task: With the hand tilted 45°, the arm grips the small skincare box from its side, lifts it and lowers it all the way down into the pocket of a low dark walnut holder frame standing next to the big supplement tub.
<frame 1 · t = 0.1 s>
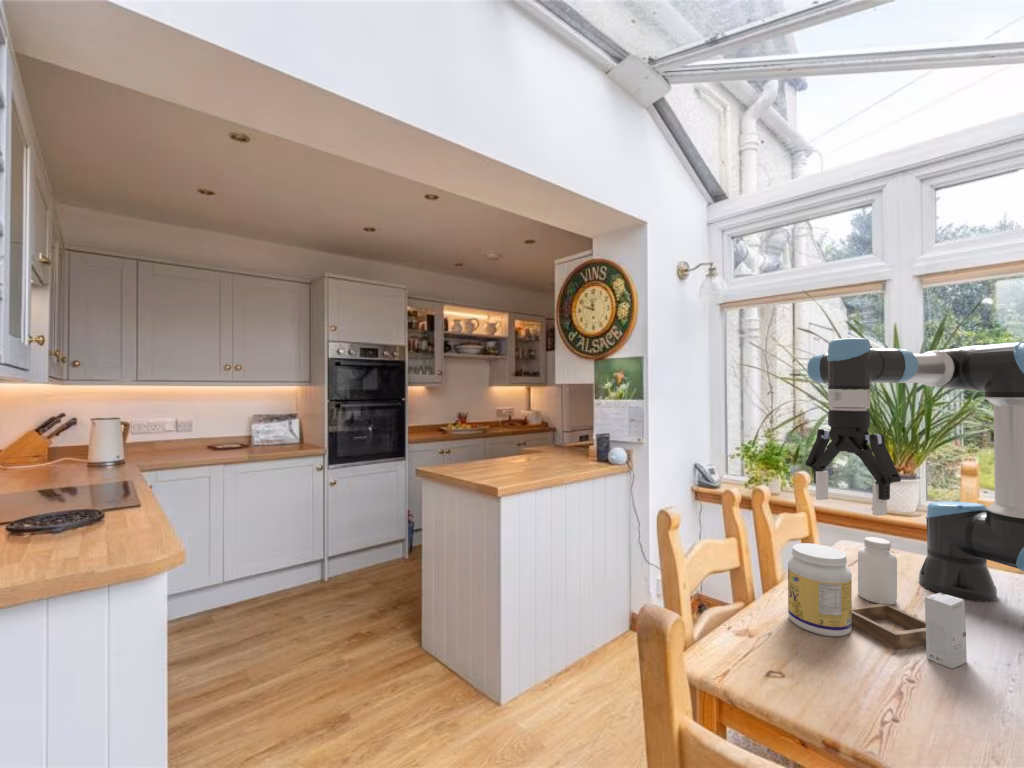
hand: (849, 506, 103), 28 cm above the table, tool pointing down, fingers open, 13 cm apart
holder: (890, 631, 104), on the table
supplement tub: (819, 625, 108), on the table
skincare box: (945, 660, 94), on the table
pill bottle: (877, 599, 121), on the table
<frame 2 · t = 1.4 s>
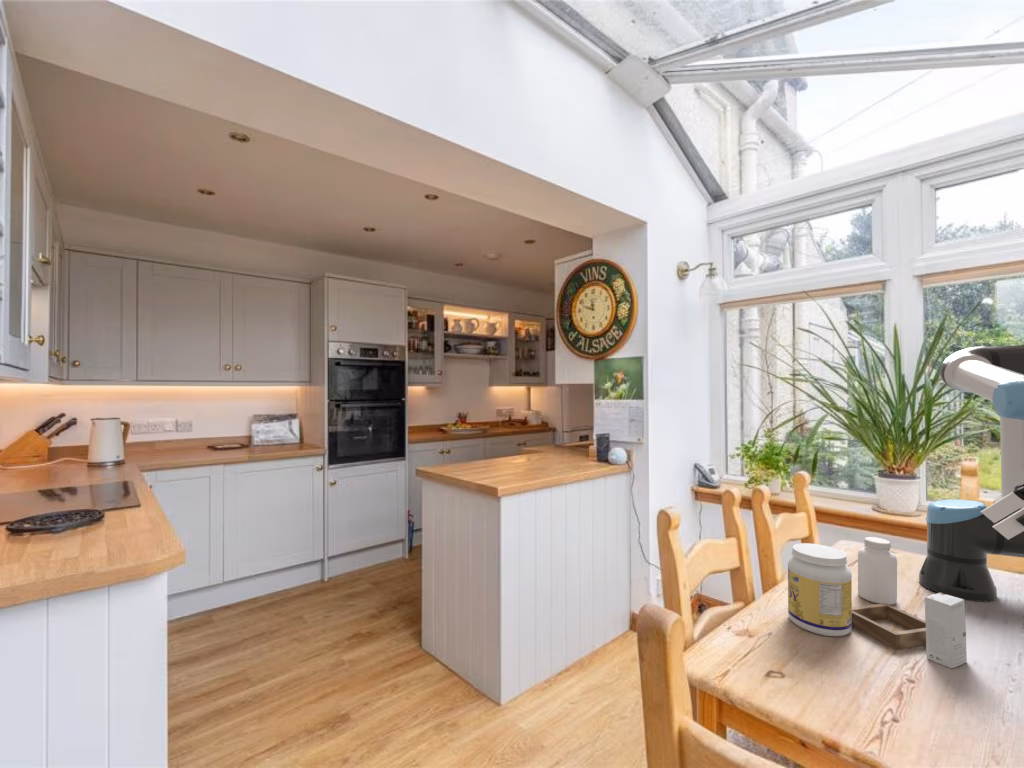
hand: (993, 524, 91), 27 cm above the table, tool tilted 45°, fingers open, 13 cm apart
nothing on the table moved.
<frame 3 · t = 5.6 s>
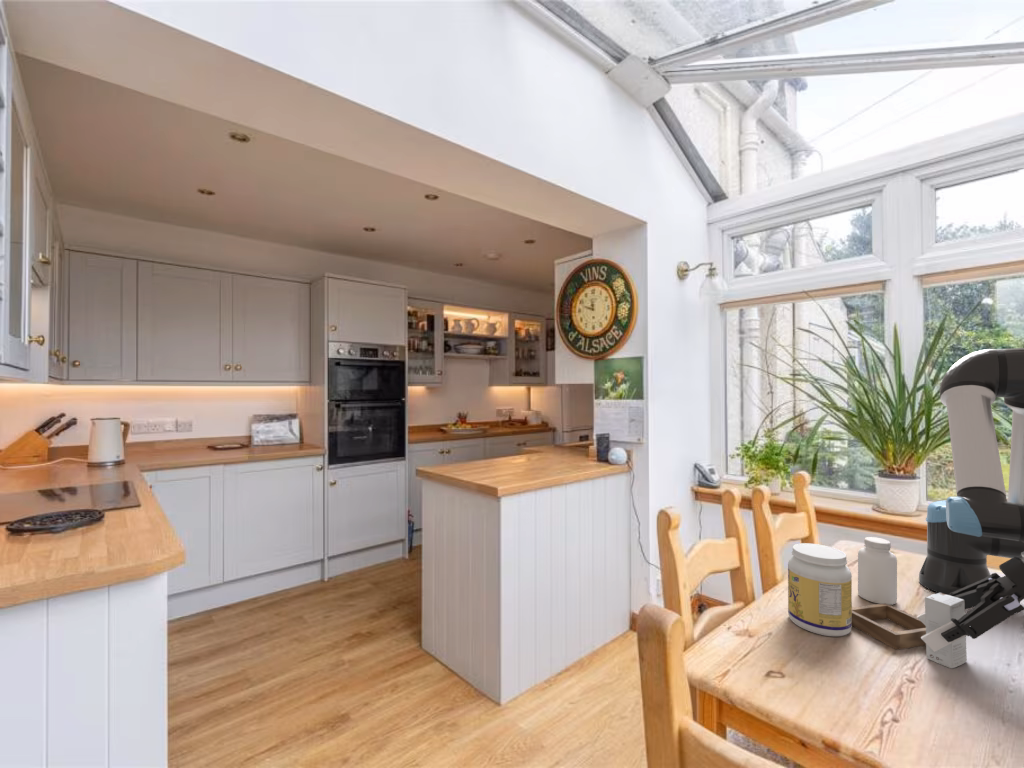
hand: (925, 633, 96), 4 cm above the table, tool tilted 45°, fingers open, 10 cm apart
nothing on the table moved.
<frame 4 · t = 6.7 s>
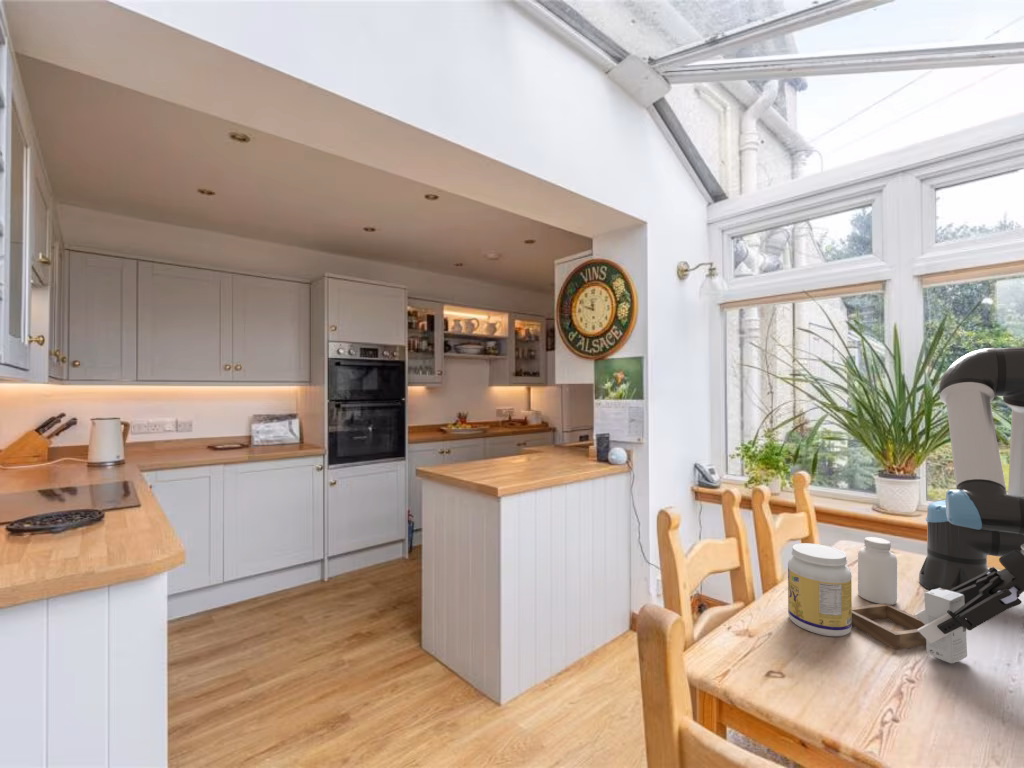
hand: (922, 628, 96), 5 cm above the table, tool tilted 45°, fingers closed on skincare box, 7 cm apart
skincare box: (946, 655, 94), point 1 cm above the table, touching gripper
everything else where it was.
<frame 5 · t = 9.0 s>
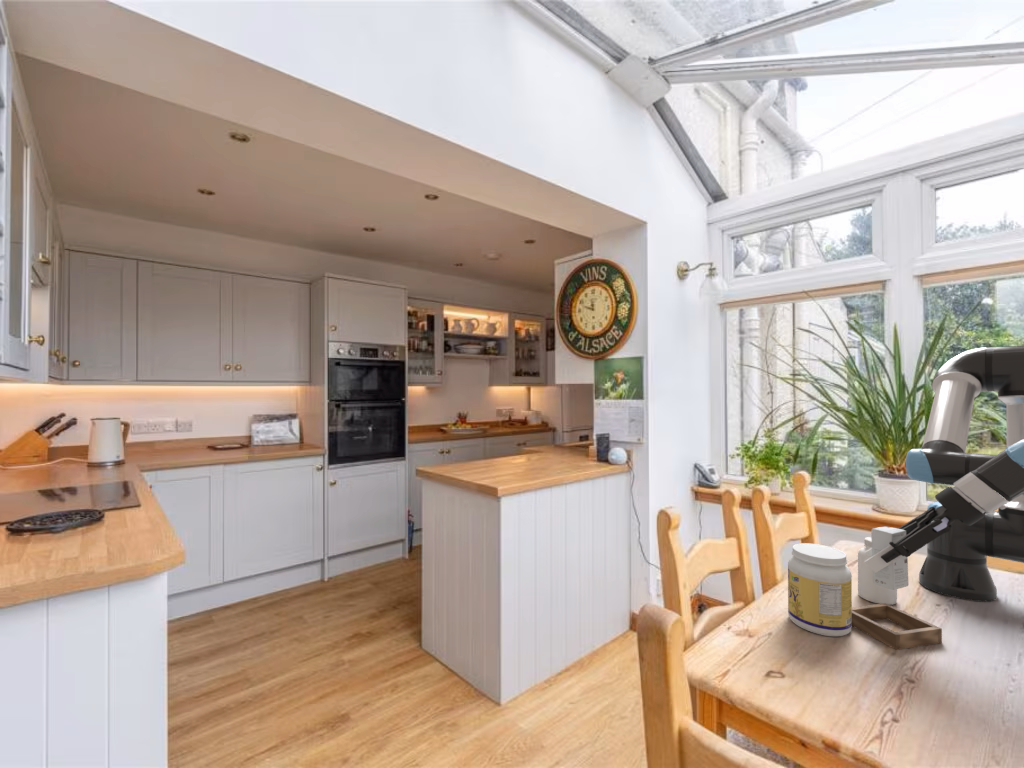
hand: (870, 561, 107), 15 cm above the table, tool tilted 45°, fingers closed on skincare box, 7 cm apart
skincare box: (890, 585, 104), point 10 cm above the table, touching gripper
everything else where it was.
when the fingers open (4 cm above the table, at t = 11.4 s): skincare box stays where it is, resting in holder.
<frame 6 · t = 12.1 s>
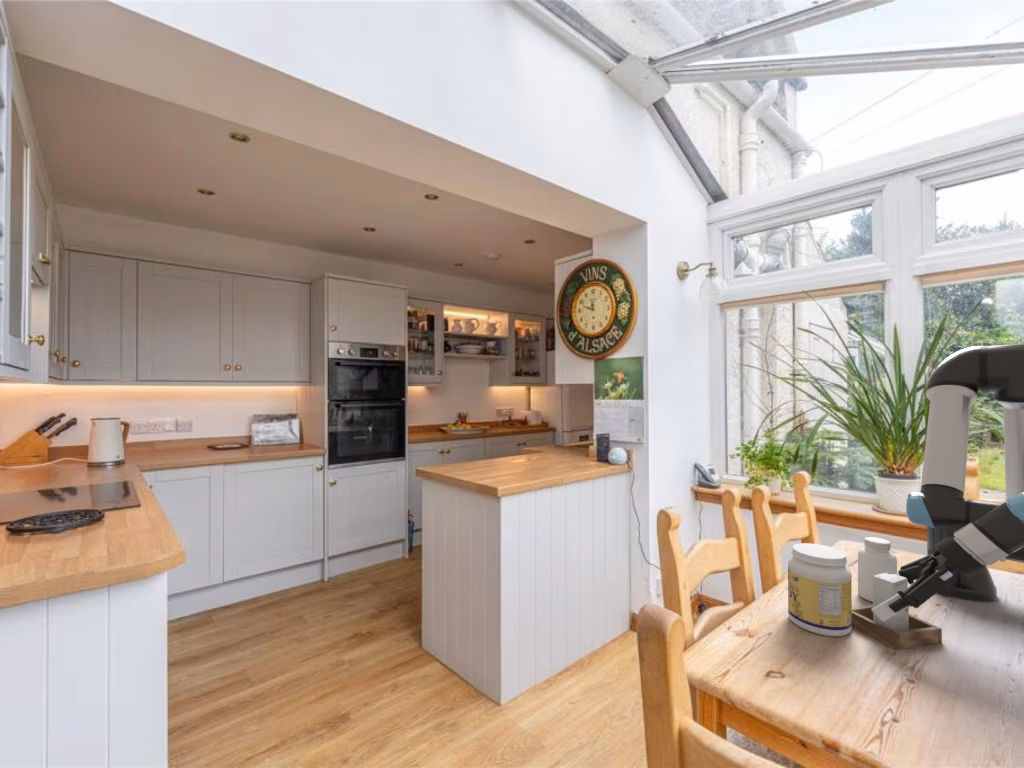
hand: (877, 603, 106), 5 cm above the table, tool tilted 45°, fingers open, 13 cm apart
skincare box: (890, 632, 104), resting in holder
everything else where it was.
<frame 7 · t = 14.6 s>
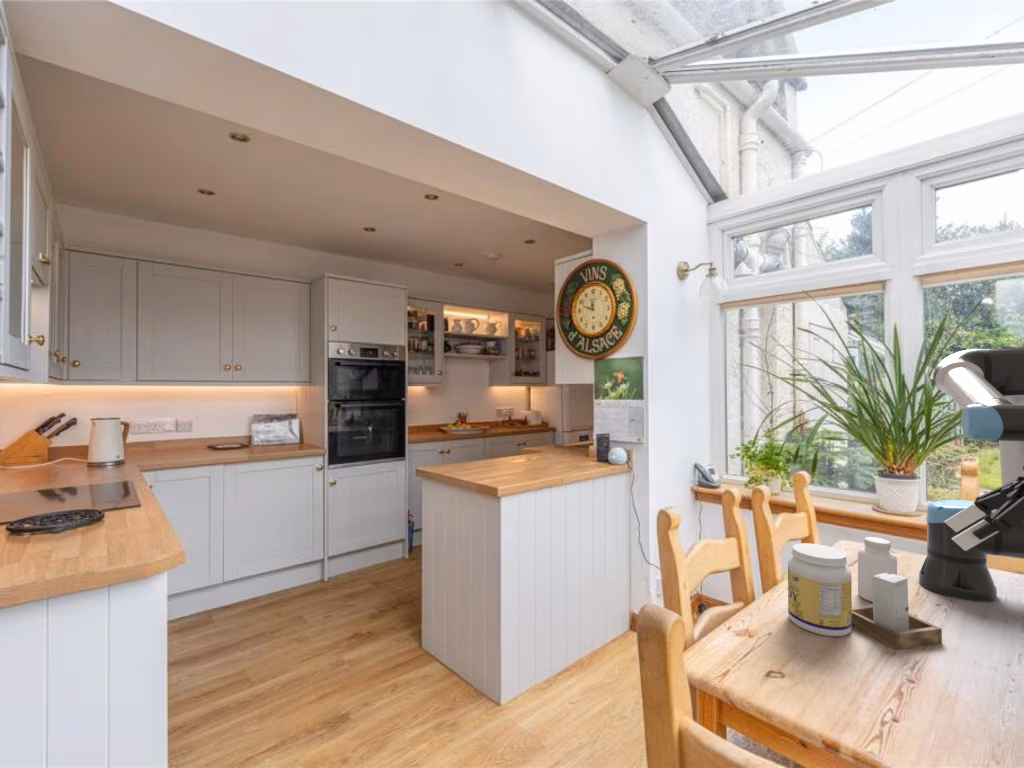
hand: (953, 535, 98), 23 cm above the table, tool tilted 45°, fingers open, 13 cm apart
nothing on the table moved.
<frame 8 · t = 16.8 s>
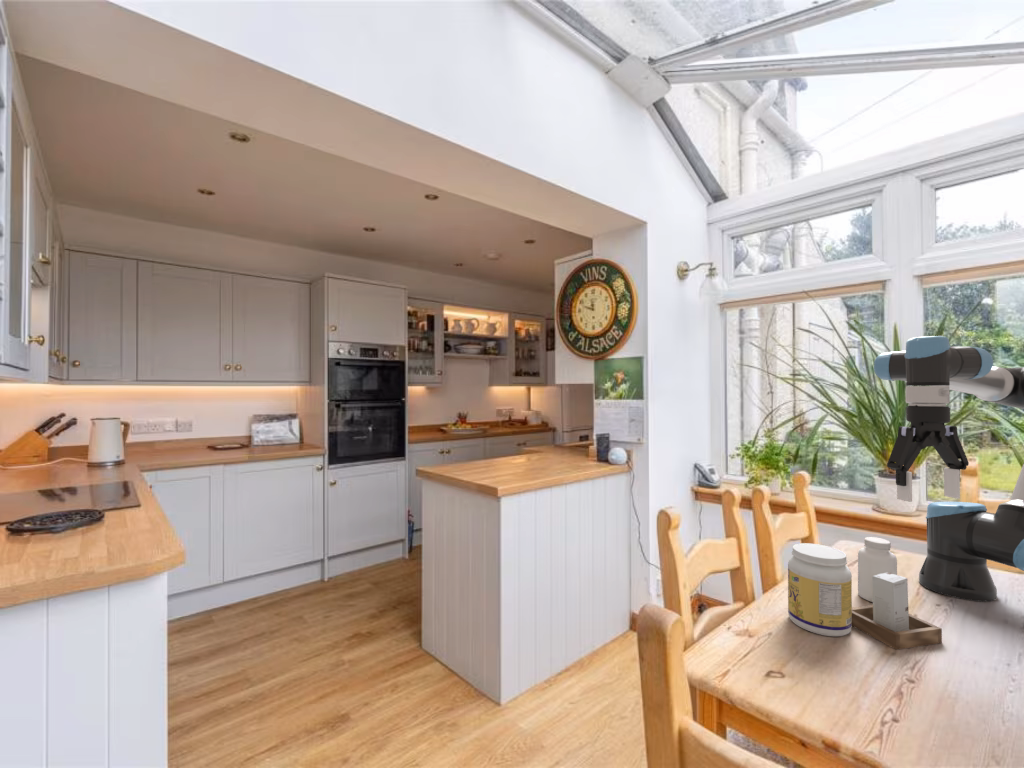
hand: (928, 498, 107), 29 cm above the table, tool pointing down, fingers open, 13 cm apart
nothing on the table moved.
at the end: skincare box inside the target area on the holder (0.0 cm from its centre), point 0.0 cm above the holder's base; skincare box tilted 0°; the gripper is holding nothing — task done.
